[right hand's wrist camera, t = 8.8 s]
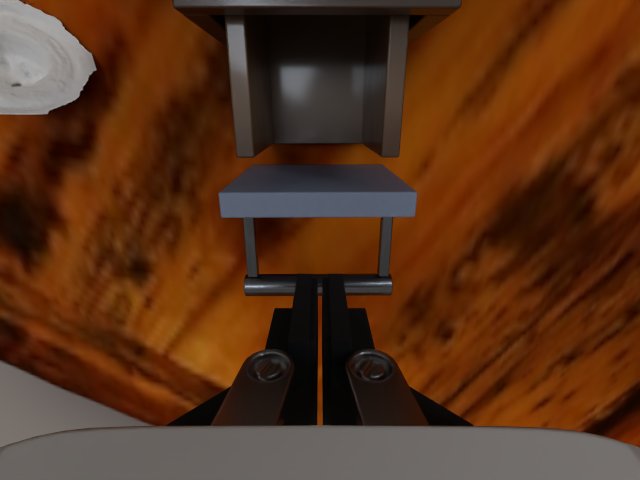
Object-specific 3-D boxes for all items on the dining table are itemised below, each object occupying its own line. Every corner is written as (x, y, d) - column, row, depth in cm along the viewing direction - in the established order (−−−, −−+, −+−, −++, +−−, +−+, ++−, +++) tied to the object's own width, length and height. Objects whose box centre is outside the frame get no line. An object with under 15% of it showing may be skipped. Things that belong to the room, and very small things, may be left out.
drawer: (377, 259, 26) (404, 327, 18) (259, 260, 26) (232, 328, 18) (395, -36, 20) (450, -142, 11) (238, -36, 19) (181, -143, 11)
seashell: (58, 72, 25) (-116, 27, 19) (78, 12, 22) (-120, -65, 16) (86, 161, 24) (-97, 145, 17) (111, 109, 21) (-98, 65, 14)
